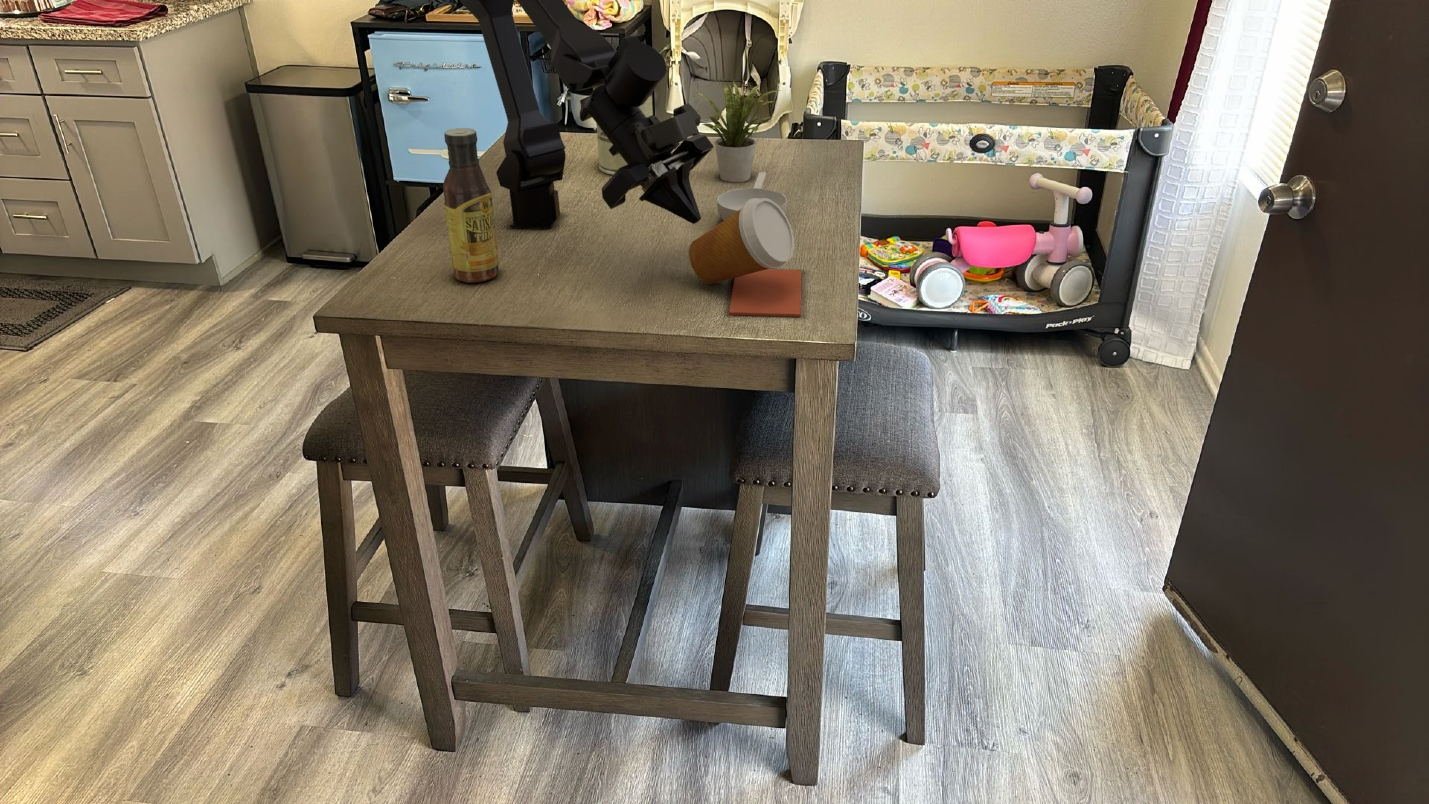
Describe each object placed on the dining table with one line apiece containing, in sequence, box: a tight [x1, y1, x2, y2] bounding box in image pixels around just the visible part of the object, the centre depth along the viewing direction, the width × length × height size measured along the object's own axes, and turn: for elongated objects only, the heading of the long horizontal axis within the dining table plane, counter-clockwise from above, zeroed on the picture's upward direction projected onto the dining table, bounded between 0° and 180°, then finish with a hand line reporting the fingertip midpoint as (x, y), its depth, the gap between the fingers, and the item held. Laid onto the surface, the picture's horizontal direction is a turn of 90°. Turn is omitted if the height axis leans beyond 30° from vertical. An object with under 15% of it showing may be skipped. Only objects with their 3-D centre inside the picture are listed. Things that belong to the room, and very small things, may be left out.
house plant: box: [695, 80, 782, 183], centre depth 167 cm, size 14×14×16 cm
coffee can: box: [592, 86, 654, 176], centre depth 173 cm, size 10×10×14 cm
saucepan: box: [716, 171, 788, 221], centre depth 156 cm, size 11×18×4 cm, turn 170°
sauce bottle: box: [442, 127, 499, 284], centre depth 131 cm, size 6×6×20 cm
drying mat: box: [728, 268, 802, 318], centre depth 131 cm, size 9×14×1 cm, turn 175°
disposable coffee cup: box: [688, 198, 795, 285], centre depth 129 cm, size 10×10×12 cm
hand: (697, 221), depth 130 cm, fingers closed
